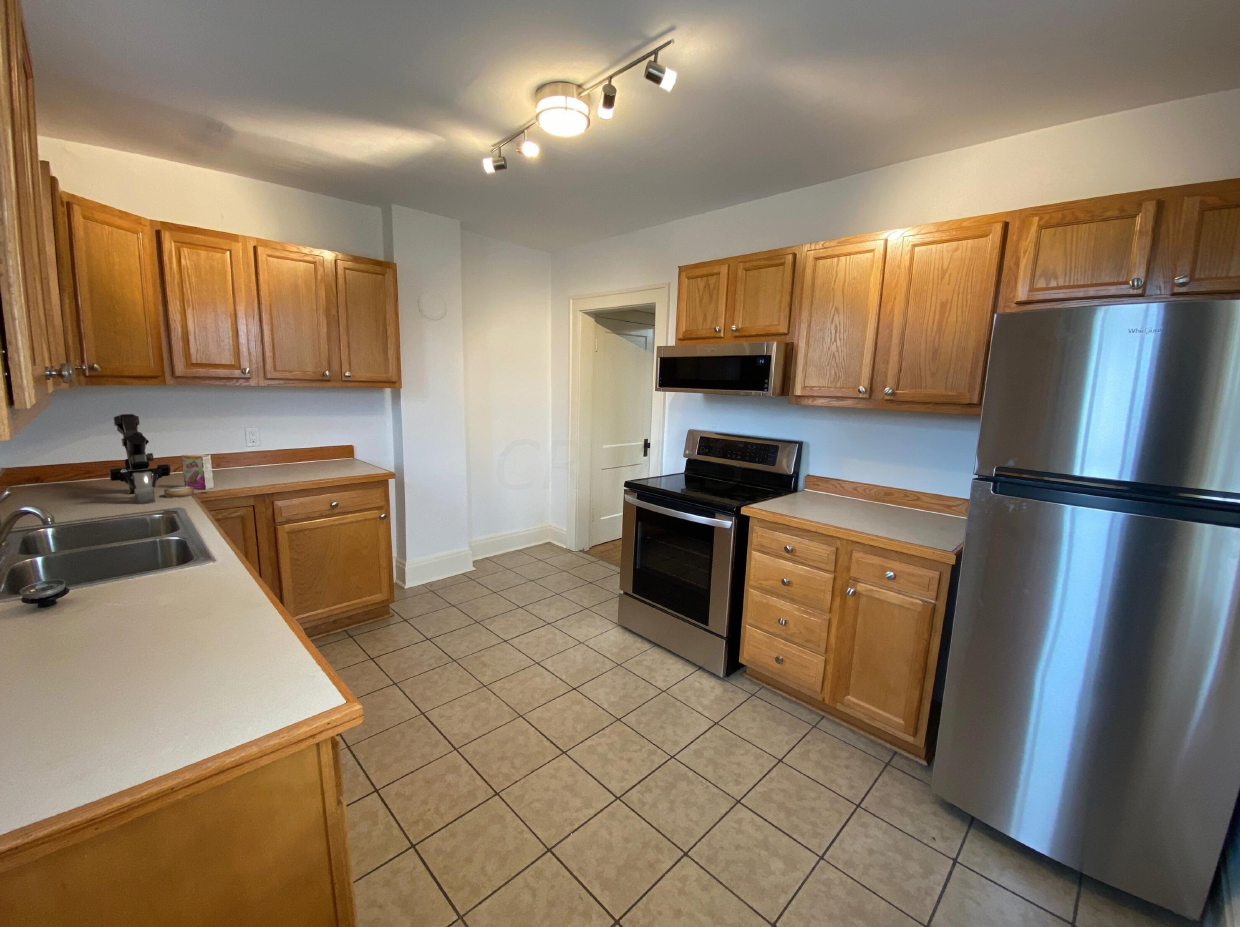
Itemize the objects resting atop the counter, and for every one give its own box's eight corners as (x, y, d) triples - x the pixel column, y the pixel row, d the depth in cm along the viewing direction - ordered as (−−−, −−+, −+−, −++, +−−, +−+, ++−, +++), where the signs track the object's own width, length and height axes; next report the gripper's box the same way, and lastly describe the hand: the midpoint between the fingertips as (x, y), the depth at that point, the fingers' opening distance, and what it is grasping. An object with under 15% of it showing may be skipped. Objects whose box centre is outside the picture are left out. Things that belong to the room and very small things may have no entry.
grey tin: (137, 501, 216) (133, 472, 214) (156, 500, 219) (152, 470, 217) (134, 504, 211) (130, 474, 209) (154, 503, 214) (150, 473, 212)
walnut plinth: (166, 494, 230) (165, 487, 229) (195, 492, 236) (194, 485, 235) (163, 498, 222) (162, 491, 221) (192, 496, 228) (191, 489, 227)
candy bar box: (184, 488, 242) (180, 455, 239) (194, 486, 246) (190, 453, 244) (205, 489, 241) (201, 456, 238) (215, 487, 245) (211, 454, 243)
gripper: (106, 449, 207) (112, 479, 202) (166, 445, 221) (173, 473, 215) (107, 465, 213) (113, 495, 208) (166, 461, 227) (173, 488, 222)
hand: (144, 487), depth 213 cm, fingers closed on grey tin, 6 cm apart
